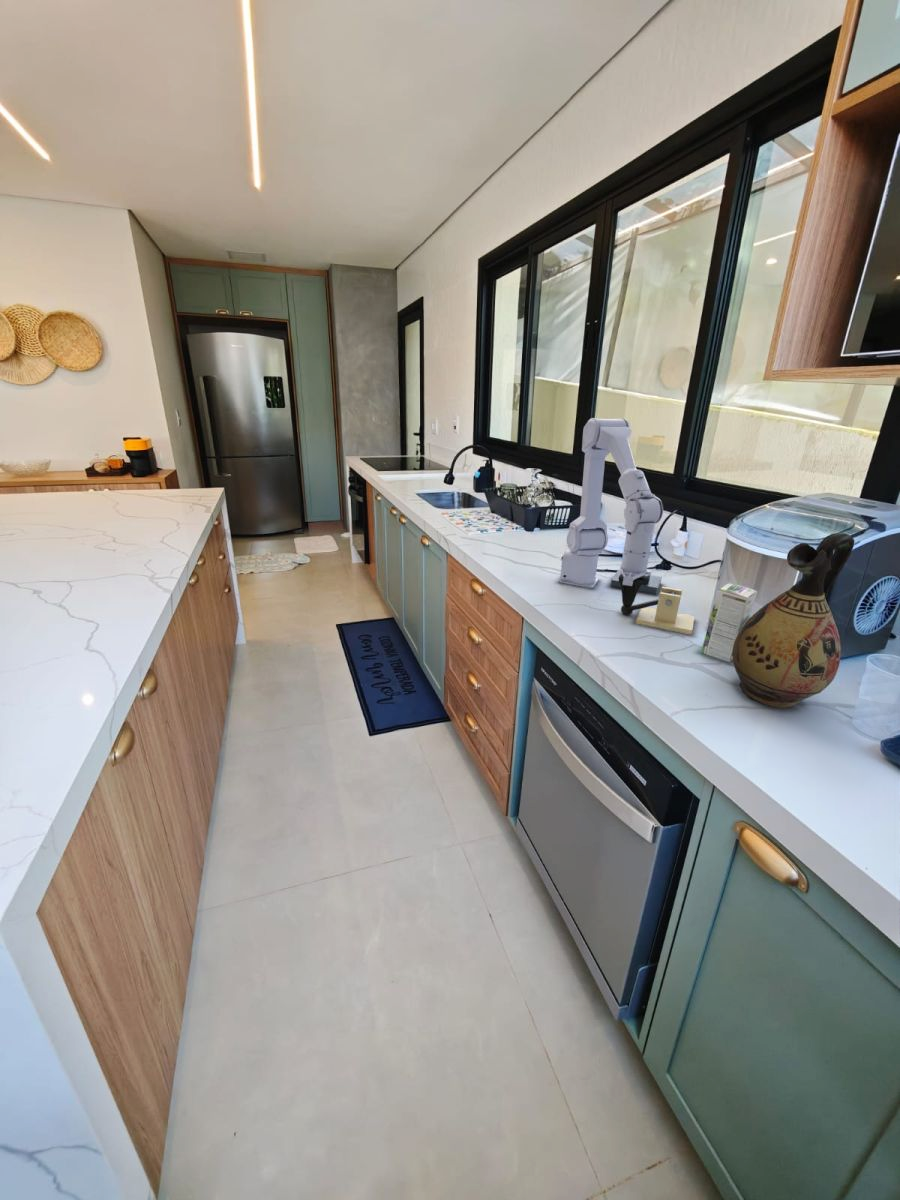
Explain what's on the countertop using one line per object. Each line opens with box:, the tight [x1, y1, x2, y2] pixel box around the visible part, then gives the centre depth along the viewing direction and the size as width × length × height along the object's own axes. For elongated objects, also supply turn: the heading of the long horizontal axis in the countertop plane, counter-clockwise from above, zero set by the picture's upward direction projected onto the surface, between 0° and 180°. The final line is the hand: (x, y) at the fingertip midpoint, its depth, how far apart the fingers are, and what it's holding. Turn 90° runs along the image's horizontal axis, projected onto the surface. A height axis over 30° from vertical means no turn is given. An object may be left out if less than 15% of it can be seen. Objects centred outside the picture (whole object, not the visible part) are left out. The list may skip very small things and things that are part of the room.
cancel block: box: [610, 569, 663, 596], centre depth 140 cm, size 12×10×4 cm
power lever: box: [620, 591, 676, 616], centre depth 119 cm, size 13×3×3 cm, turn 62°
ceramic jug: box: [732, 532, 855, 709], centre depth 85 cm, size 17×15×30 cm
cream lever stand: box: [635, 586, 696, 636], centre depth 117 cm, size 12×9×8 cm
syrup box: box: [700, 583, 758, 663], centre depth 102 cm, size 6×6×14 cm
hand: (627, 604), depth 121 cm, fingers closed, pressing on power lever
